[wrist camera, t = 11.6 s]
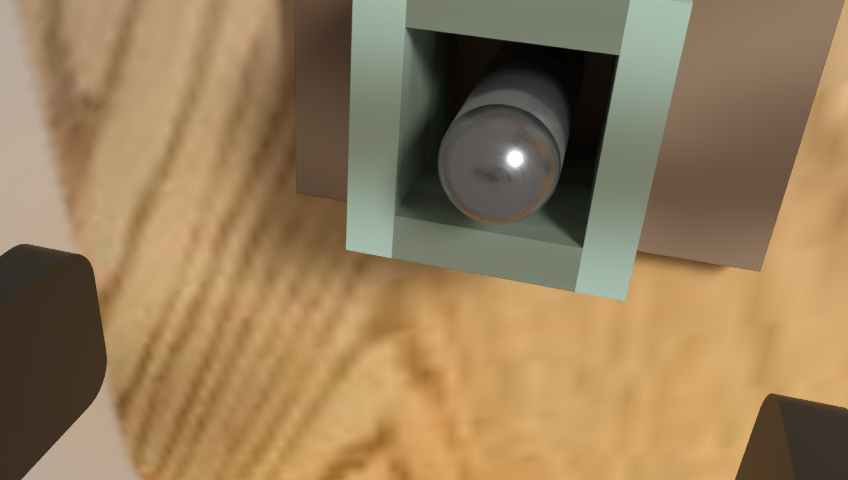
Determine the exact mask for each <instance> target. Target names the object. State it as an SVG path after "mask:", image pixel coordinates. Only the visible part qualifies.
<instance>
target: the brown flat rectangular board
mask: <svg viewBox="0 0 848 480" xmlns="http://www.w3.org/2000/svg"><path fill="white" fill-rule="evenodd" d="M844 1H845V0H692V2H693V5H692V10H691V14H690V18H689V23H688V27H687V32H686V36H685V40H684V45H683V49H682V54H681V58H680V62H679V67H678V71H677V76H676V80H675V85H674V89H673V93H672V98H671V102H670V107H669V111H668V115H667V120H666V124H665V129H664V133H663V137H662V142H661V146H660V151H659V155H658V159H657V164H656V168H655V173H654V177H653V182H652V186H651V190H650V195H649V199H648V204H647V208H646V212H645V217H644V221H643V226H642V230H641V234H640V239H639V243H638V248H637V251H641V252H647V253H653V254H659V255H665V256H670V257H676V258H682V259H688V260H694V261H700V262H706V263H712V264H718V265H724V266H729V267H735V268H741V269H747V270H753V271H759V272H760V271H761V268H762V265H763V261H764V258H765V255H766V252H767V249H768V245H769V242H770V239H771V236H772V233H773V229H774V226H775V223H776V220H777V216H778V213H779V210H780V207H781V204H782V200H783V197H784V194H785V191H786V188H787V184H788V181H789V178H790V175H791V171H792V168H793V165H794V162H795V159H796V155H797V152H798V149H799V146H800V143H801V139H802V136H803V133H804V130H805V127H806V123H807V120H808V117H809V114H810V110H811V107H812V104H813V101H814V98H815V94H816V91H817V88H818V85H819V82H820V78H821V75H822V72H823V69H824V66H825V62H826V59H827V56H828V53H829V49H830V46H831V43H832V40H833V37H834V33H835V30H836V27H837V24H838V21H839V17H840V14H841V11H842V8H843V4H844ZM352 8H353V0H295V87H296V187H297V193H299V194H305V195H311V196H317V197H323V198H328V199H334V200H340V201H346V202H347V191H348V154H349V118H350V81H351V45H352ZM503 41H504V40H500V39H493V38H485V37H477V36H470V35H462V34H458V42H457V53H456V64H455V75H454V86H453V97H452V108H451V119H450V125H451V124H452V122H453V120H454V119H455V117H456V116H457V114H458V112H459V111H460V109H461V108H462V106H463V104H464V103H465V101H466V100H467V98H468V96H469V95H470V93H471V92H472V90H473V88H474V87H475V85H476V84H477V82H478V80H479V79H480V77H481V76H482V74H483V72H484V71H485V69H486V68H487V66H488V64H489V63H490V61H491V60H492V58H493V56H494V55H495V53H496V52H497V50H498V48H499V47H500V45H501V44H502V42H503ZM582 54H583V58H584V75H583V79H582V83H581V87H580V92H579V96H578V100H577V105H576V109H575V113H574V117H573V122H572V126H571V130H570V134H569V139H568V143H567V144H569V145H575V146H582V147H588V148H595V149H597V147H598V141H599V136H600V131H601V125H602V120H603V115H604V109H605V104H606V99H607V93H608V88H609V82H610V77H611V72H612V66H613V61H614V56H615V55H614V54H606V53H599V52H591V51H584V50H582Z"/></svg>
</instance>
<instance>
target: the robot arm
mask: <svg viewBox="0 0 848 480" xmlns="http://www.w3.org/2000/svg"><path fill="white" fill-rule="evenodd" d="M106 366H107V355H106V348H105V341H104V335H103V328H102V322H101V316H100V309H99V303H98V296H97V290H96V283H95V277H94V272H93V268H92V266H91V263H90V262H89V260H88V259H87V258H86V257H84V256H82V255H80V254H75V253H70V252H64V251H59V250H54V249H49V248H44V247H39V246H34V245H29V244H20V245H17V246H15V247H13V248H12V249H10V250H8V251H7V252H6V253H4V254H3V255H1V256H0V480H21V479H22V478H23V477H24V476H25V475H26V474H27V473H28V471H30V469H31V468H32V467H33V466H34V465H35V464H36V463H37V462H38V461H39V460H40V459H41V458H42V456H44V454H45V453H46V452H47V451H48V450H49V449H50V448H51V447H52V446H53V445H54V444H55V443H56V441H57V440H58V439H59V438H60V437H61V436H62V435H63V434H64V433H65V432H66V431H67V430H68V429H69V428H70V426H71V425H72V424H73V423H74V422H75V421H76V420H77V419H78V418H79V417H80V416H81V415H82V413H83V412H84V411H85V410H86V409H87V408H88V407H89V406H90V405H91V404H92V402H93V401H94V399H95V398H96V396H97V394H98V392H99V391H100V388H101V386H102V383H103V380H104V377H105V372H106ZM735 480H848V409H846V408H843V407H838V406H833V405H828V404H823V403H818V402H813V401H808V400H803V399H797V398H792V397H787V396H782V395H777V394H772V393H771V394H769V395H768V396H767V397H766V398H765V400H764V401H763V403H762V405H761V408H760V410H759V413H758V416H757V419H756V422H755V425H754V427H753V430H752V433H751V436H750V439H749V442H748V444H747V447H746V450H745V453H744V456H743V459H742V461H741V464H740V467H739V470H738V473H737V476H736V478H735Z"/></svg>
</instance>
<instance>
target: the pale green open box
mask: <svg viewBox="0 0 848 480" xmlns="http://www.w3.org/2000/svg"><path fill="white" fill-rule="evenodd" d="M692 5H693V2H692V0H353V8H352V45H351V81H350V118H349V154H348V191H347V227H346V250H350V251H355V252H361V253H366V254H372V255H377V256H382V257H388V258H393V259H399V260H404V261H410V262H415V263H420V264H426V265H431V266H437V267H442V268H448V269H453V270H459V271H464V272H469V273H475V274H480V275H486V276H491V277H497V278H502V279H507V280H513V281H518V282H524V283H529V284H535V285H540V286H546V287H551V288H556V289H562V290H567V291H573V292H578V293H584V294H589V295H594V296H600V297H605V298H611V299H616V300H622V301H626V296H627V292H628V287H629V283H630V279H631V274H632V270H633V265H634V261H635V256H636V252H637V248H638V243H639V239H640V234H641V230H642V226H643V221H644V217H645V212H646V208H647V204H648V199H649V195H650V190H651V186H652V182H653V177H654V173H655V168H656V164H657V159H658V155H659V151H660V146H661V142H662V137H663V133H664V129H665V124H666V120H667V115H668V111H669V107H670V102H671V98H672V93H673V89H674V85H675V80H676V76H677V71H678V67H679V62H680V58H681V54H682V49H683V45H684V40H685V36H686V32H687V27H688V23H689V18H690V14H691V10H692ZM458 34H462V35H470V36H477V37H485V38H493V39H500V40H508V41H515V42H523V43H531V44H538V45H546V46H553V47H561V48H568V49H576V50H584V51H591V52H599V53H606V54H614V55H615V56H614V61H613V66H612V72H611V77H610V82H609V88H608V93H607V99H606V104H605V109H604V115H603V120H602V125H601V131H600V136H599V141H598V147H597V149H595V148H588V147H582V146H575V145H569V144H567V147H566V152H565V156H564V160H563V164H562V169H561V173H560V177H559V181H558V184H557V186H556V189H555V191H554V193H553V194H552V196H551V198H550V199H549V200H548V201H547V203H546V204H545V205H544V206H543V207H542V208H541V209H540V210H539V211H537V212H536V213H535V214H533V215H532V216H530V217H528V218H526V219H524V220H522V221H519V222H516V223H512V224H505V225H494V224H486V223H482V222H479V221H476V220H474V219H472V218H470V217H468V216H466V215H465V214H463V213H462V212H461V211H460V210H458V209H457V208H456V207H455V206H454V205H453V204H452V202H451V201H450V200H449V198H448V197H447V195H446V194H445V192H444V190H443V187H442V185H441V182H440V178H439V174H438V154H439V148H440V145H441V142H442V140H443V137H444V135H445V133H446V131H447V130H448V128H449V127H450V119H451V108H452V97H453V86H454V75H455V64H456V53H457V42H458Z"/></svg>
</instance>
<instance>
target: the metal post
mask: <svg viewBox="0 0 848 480" xmlns="http://www.w3.org/2000/svg"><path fill="white" fill-rule="evenodd" d="M583 75H584V58H583V54H582V50H576V49H568V48H561V47H553V46H546V45H538V44H531V43H523V42H515V41H508V40H504V41H503V42H502V44H501V45H500V47H499V48H498V50H497V52H496V53H495V55H494V56H493V58H492V60H491V61H490V63H489V64H488V66H487V68H486V69H485V71H484V72H483V74H482V76H481V77H480V79H479V80H478V82H477V84H476V85H475V87H474V88H473V90H472V92H471V93H470V95H469V96H468V98H467V100H466V101H465V103H464V104H463V106H462V108H461V109H460V111H459V112H458V114H457V116H456V117H455V119H454V120H453V122H452V124H451V125H450V127H449V128H448V130H447V131H446V133H445V135H444V137H443V140H442V142H441V145H440V148H439V154H438V174H439V178H440V182H441V185H442V187H443V190H444V192H445V194H446V195H447V197H448V198H449V200H450V201H451V202H452V204H453V205H454V206H455V207H456V208H457V209H458V210H460V211H461V212H462V213H463V214H465V215H466V216H468V217H470V218H472V219H474V220H476V221H479V222H482V223H486V224H494V225H505V224H512V223H516V222H519V221H522V220H524V219H526V218H528V217H530V216H532V215H533V214H535V213H536V212H537V211H539V210H540V209H541V208H542V207H543V206H544V205H545V204H546V203H547V201H548V200H549V199H550V198H551V196H552V194H553V193H554V191H555V189H556V186H557V184H558V181H559V177H560V173H561V169H562V164H563V160H564V156H565V152H566V147H567V143H568V139H569V134H570V130H571V126H572V122H573V117H574V113H575V109H576V105H577V100H578V96H579V92H580V87H581V83H582V79H583Z"/></svg>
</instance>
